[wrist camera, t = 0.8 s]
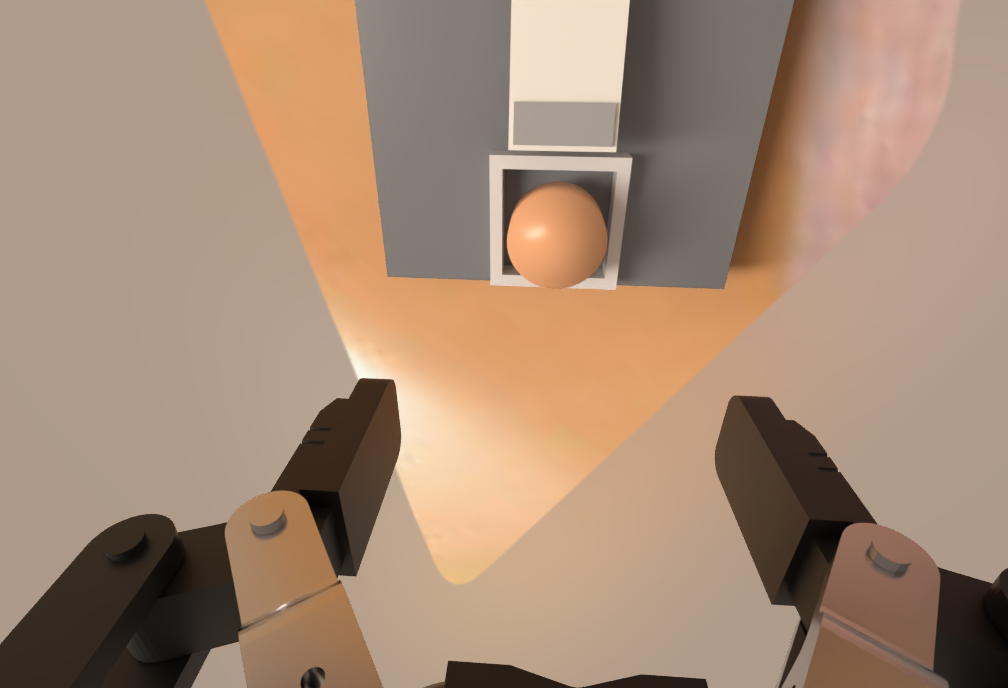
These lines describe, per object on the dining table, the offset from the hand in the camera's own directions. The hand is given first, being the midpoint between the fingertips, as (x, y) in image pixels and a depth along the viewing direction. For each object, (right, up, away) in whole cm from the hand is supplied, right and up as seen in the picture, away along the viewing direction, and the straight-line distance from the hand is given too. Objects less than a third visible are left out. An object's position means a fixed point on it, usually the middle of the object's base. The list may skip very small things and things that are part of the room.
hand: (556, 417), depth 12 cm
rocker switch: (+1, +13, +9) cm, 16 cm away
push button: (+1, +7, +12) cm, 14 cm away
